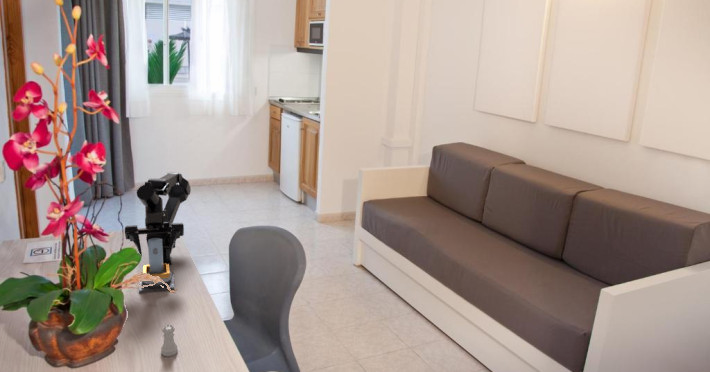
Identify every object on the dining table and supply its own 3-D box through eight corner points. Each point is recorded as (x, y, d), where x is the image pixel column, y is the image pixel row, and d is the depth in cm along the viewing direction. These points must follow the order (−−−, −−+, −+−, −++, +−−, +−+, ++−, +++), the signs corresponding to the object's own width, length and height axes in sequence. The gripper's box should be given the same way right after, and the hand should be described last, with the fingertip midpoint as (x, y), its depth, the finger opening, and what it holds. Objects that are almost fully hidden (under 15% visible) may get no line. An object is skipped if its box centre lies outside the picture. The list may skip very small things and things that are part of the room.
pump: (149, 271, 195) (148, 238, 192) (163, 269, 197) (162, 237, 193) (149, 279, 190) (147, 245, 186) (163, 277, 191) (162, 244, 188)
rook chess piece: (177, 356, 156) (176, 330, 154) (160, 357, 155) (158, 331, 153) (178, 347, 160) (177, 322, 158) (161, 348, 159) (160, 323, 157)
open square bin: (140, 278, 198) (139, 263, 197) (173, 275, 202) (172, 261, 200) (139, 293, 188) (138, 277, 187) (174, 289, 192) (173, 275, 190)
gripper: (123, 203, 187) (123, 247, 181) (182, 200, 193) (185, 243, 187) (125, 217, 197) (126, 260, 190) (182, 214, 203) (184, 255, 196)
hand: (155, 254), depth 191 cm, fingers open, 9 cm apart
